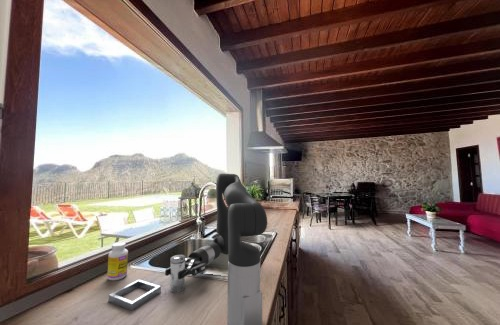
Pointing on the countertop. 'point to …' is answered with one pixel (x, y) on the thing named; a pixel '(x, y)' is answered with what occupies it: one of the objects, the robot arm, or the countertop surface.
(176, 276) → the lidded metal canister
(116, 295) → the collar
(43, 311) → the countertop surface
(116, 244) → the supplement bottle
